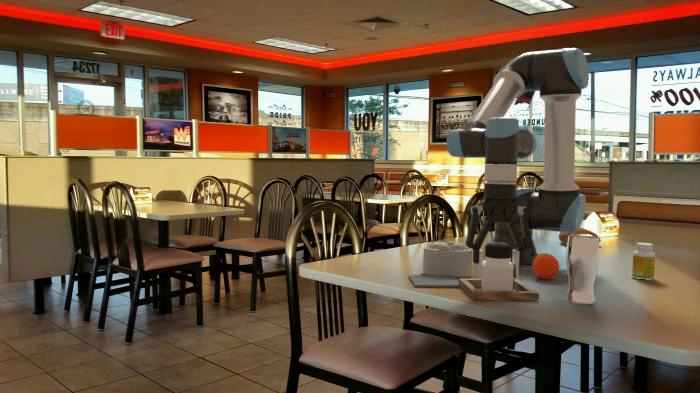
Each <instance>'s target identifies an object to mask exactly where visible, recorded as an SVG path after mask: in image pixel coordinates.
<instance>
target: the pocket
mask: <svg viewBox="0 0 700 393" xmlns="http://www.w3.org/2000/svg"><path fill="white" fill-rule="evenodd" d="M458 281H459V284H460V285H461V289H462V290H463V291H464V293H465V294H467V295H468V297H470V298H471V299H472V300H473V301H511V300H540V299H539V298H540V297H539V296H540V292H538V291H536V290H535V289H534V288H532V287H530V286H529V285H527V284H526V283H524V282H523V281H521V280H520V279H519V278H514V286H513V289H514V290H513V291H482V290H478V289H477V288H481V281H482V278H458ZM516 289H517V290H516Z"/></svg>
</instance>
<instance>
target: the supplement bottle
mask: <svg viewBox="0 0 700 393" xmlns="http://www.w3.org/2000/svg"><path fill="white" fill-rule="evenodd" d="M653 245H654V244H653V243H650V242H649V243H648V242H636V246H635V247H636V250H635V251H633V254H632V270H631V271H632V272H631V277H632V278H633V277H635V278H641V279H653V278H654V279H655V265H656V264H655V263H656V254H655V252H654V251H652V250H653V249H654V248H653V247H654V246H653ZM654 279H653V280H654Z"/></svg>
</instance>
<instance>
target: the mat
mask: <svg viewBox="0 0 700 393" xmlns="http://www.w3.org/2000/svg"><path fill="white" fill-rule="evenodd" d="M408 279H409V280H410V281H411V283H412V285H413V286H414V287H415V288H435V289H436V288H438V289H439V288H441V289H442V288H444V289H445V288H447V289H452V288H453V289H455V288H457V289H458V288H459V289H460V288H461V285H460V284H459V279H457V277H454V276H453V275H427V274H422V275H421V274H409V275H408ZM461 289H462V288H461Z"/></svg>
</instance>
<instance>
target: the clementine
mask: <svg viewBox="0 0 700 393" xmlns="http://www.w3.org/2000/svg"><path fill="white" fill-rule="evenodd" d="M531 265H532V266H531V267H532V270H533V273H534V274H535V275H536V276H537V277H538V278H540V279H543V280H551V279H553V278H555V277H556V276H557V275H558V274H559V271H560V263H559V260H558V259H557V258H556V256H554V255H553V254H550V253H547V252H543V253H542V252H541V253H537V255H536V257H535V259H534V261H533V264H531Z"/></svg>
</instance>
